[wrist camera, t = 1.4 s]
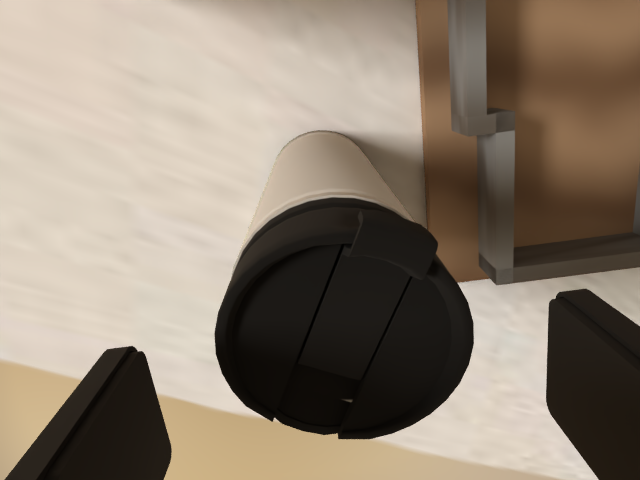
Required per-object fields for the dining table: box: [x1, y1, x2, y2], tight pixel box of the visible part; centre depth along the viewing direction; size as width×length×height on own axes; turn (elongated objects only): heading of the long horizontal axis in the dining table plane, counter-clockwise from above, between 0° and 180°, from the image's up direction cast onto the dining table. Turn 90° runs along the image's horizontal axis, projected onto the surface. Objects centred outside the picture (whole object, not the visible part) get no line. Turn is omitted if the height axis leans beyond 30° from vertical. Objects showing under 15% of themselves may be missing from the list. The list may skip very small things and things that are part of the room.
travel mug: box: [215, 130, 474, 439], centre depth 20 cm, size 6×7×20 cm
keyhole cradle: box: [415, 0, 640, 285], centre depth 26 cm, size 25×17×4 cm
